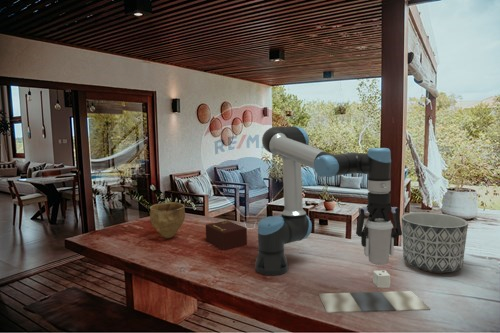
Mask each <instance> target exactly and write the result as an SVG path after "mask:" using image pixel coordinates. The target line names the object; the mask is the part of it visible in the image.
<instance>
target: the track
mask: <svg viewBox="0 0 500 333" xmlns="http://www.w3.org/2000/svg"><path fill="white" fill-rule="evenodd" d="M318 296H319V299H320V301H321V303H322V305H323V307H324V310H325V312H326V313H327V314H330V313H331V314H332V313H334V314H335V313H365V312H366V313H368V312H374V313H375V312H399V311H401V312H403V311H430V310H431V308H430V307H429V306H428V305H427V304H426V303H425V302H424V301H423V300H422V299H421V298H420V297H419V296H417V294H416V293H414V292H413V291H412V290H403V291H401V290H400V291H399V290H398V291H397V290H396V291H367V292H366V291H365V292H363V291H361V292H359V291H358V292H332V293H331V292H330V293H326V292H325V293H318Z"/></svg>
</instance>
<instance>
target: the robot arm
mask: <svg viewBox="0 0 500 333" xmlns="http://www.w3.org/2000/svg"><path fill="white" fill-rule="evenodd" d="M261 143H262V146H263V148H264V149H265V150H266V151H267V152H268V153H270V154H273V155H275V156H279V157H280V158H281V159H282V179H283V182H282V183H283V201H284V202H283V204H284V209H283V211H281V216H279V215H273V216H271V215H270V216H266V217H263V218H261V219H260V220H259V221H258V225H257V238H258V239H257V240H258V246H257V247H258V253H257V256H256V259H255V263H254V270H255V272H257V273H258V274H261V275H265V276H280V275H283V274H285V273H287V272H288V270H289V263H288V260H287V257H286V255H285V245H286V244H290V243H294V242H300V241H302V240H305V239H307V238H308V237H309V236H310V234H311V232H312V230H313V229H312V228H313V226H312V225H313V224H312V220H310V219H311V218H310V217H309V216H308V215H307V212H306V211H305V210H304V209H303V208H304V207H303V204H304V203H303V184H302V183H303V180H302V176H303V175H302V165H304V166H306V167H308V168H311V169H313V170H314V171H315V173H316V175H317V176H319V177H323V178H325V177H326V178H331V177H336V176H342V175H343V176H344V175H352V174H353V175H354V174H362V175H367V191H368V193H367V205H366V207H359V208H358V213H359V214H358V219H357V226H356V231H355V234H356V235H357V236H358V237H360V238H361V239H360V242H361V246H362V247H363V255H364V256H365V257H369V238H368V237H367V235H368V228H367V227H365V219H366V214H367V212H368V216H367V219H368V220H369V221H370V222H371V221H372V222H374V221H375V219H378V218H382V219H384V220H385V221H387V222H388V221H390V220H391V218H390V215H389V214H390V212H391V213H392V220H393V226H394V227H393V228H392V232H391V241H390V250H389V256H391V257H394V252H395V251H394V248H395V247H396V246H397V238H398V237H399V236H402V224H401V220H400V208H399V207H397V206H393V207H392V206H391V198H392V197H391V193H390V192H391V188H392V187H391V186H392V185H391V168H392V159H391V158H392V157H391V156H392V155H391V153H392V152H391V150H390V148H387V147H371V148H368V150H367V153H364V152H363V153H361V152H344V153H339V154H338V153H337V154H333V153H330V152H327V151H325V150H322V149H320V148H316V147H314V146H312V145H309V143H310V139H309V135H308V132H307V131H306V130H305V129H304V128H302V127H300V126H273V127H270V128H268V129H267V130H265V132H264V133H263V135H262V138H261Z"/></svg>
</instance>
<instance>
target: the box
mask: <svg viewBox="0 0 500 333" xmlns="http://www.w3.org/2000/svg"><path fill="white" fill-rule="evenodd" d="M247 232H248V230H247V227H245V226H243V225H240V224H237V223H235V222H232V221H230V220H223V221H218V222H211V223H207V224H205V241H206V242H207V243H209V244H210V245H213V246H214V247H216V248H219V249H220V250H222V251H228V250H231V249H232V250H233V249H236V248H239V247H245V246H247V245H248V233H247Z"/></svg>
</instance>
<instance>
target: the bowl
mask: <svg viewBox="0 0 500 333" xmlns="http://www.w3.org/2000/svg"><path fill="white" fill-rule="evenodd" d="M149 210H150V211H149V212H150V213H149V220H150V223H151V225H152V227H153V229H155V230H156V231H157V232H158V233H159V235H161V237H164V238H165V239H171V238H172V237H174V236H175V235H176V234H177V233H178V231H179V230H180V228H181V227H182V226H183V224H184V221H185V219H186V218H185V217H186V210H185V204H183V203H180V202H175V201H174V202H162V203H155V204H153V205H151V206H150V207H149Z"/></svg>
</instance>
